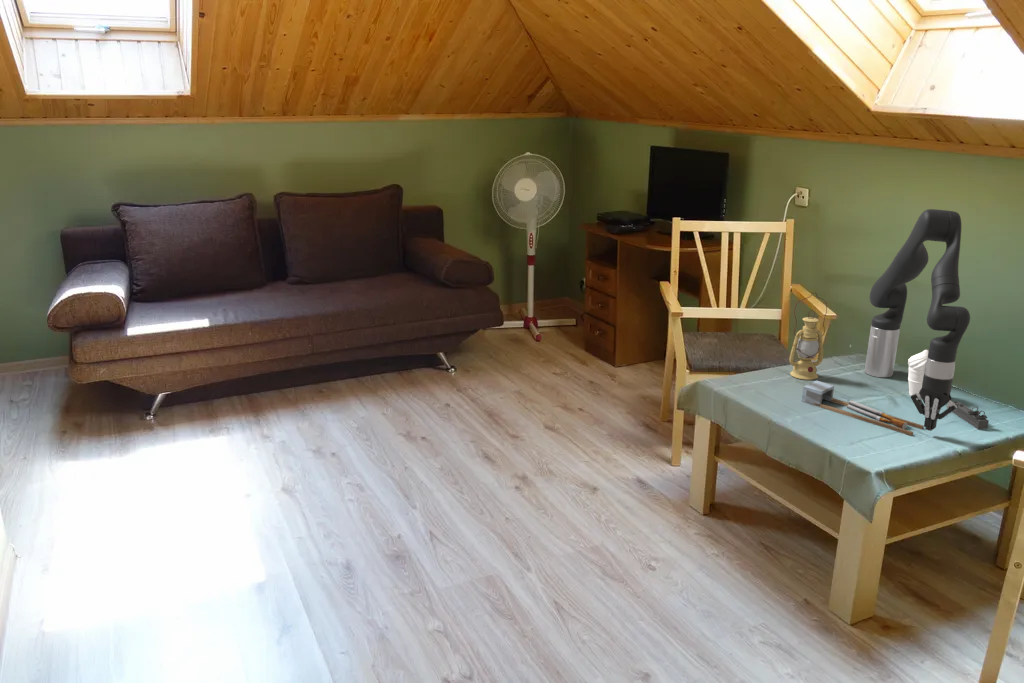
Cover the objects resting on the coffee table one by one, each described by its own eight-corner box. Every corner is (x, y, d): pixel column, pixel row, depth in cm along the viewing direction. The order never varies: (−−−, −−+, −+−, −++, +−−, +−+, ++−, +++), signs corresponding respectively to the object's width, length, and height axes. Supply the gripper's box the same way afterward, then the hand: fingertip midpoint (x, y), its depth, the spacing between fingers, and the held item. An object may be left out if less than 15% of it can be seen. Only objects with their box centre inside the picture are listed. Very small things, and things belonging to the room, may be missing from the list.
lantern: (792, 381, 281) (802, 297, 272) (782, 371, 291) (791, 289, 281) (826, 380, 282) (837, 296, 272) (815, 370, 291) (825, 289, 282)
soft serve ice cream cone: (905, 398, 266) (912, 352, 261) (900, 389, 274) (907, 344, 269) (933, 401, 264) (941, 354, 259) (927, 391, 272) (934, 346, 267)
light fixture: (958, 410, 258) (961, 394, 256) (987, 430, 244) (990, 413, 242) (948, 410, 257) (951, 394, 256) (976, 430, 243) (980, 413, 242)
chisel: (908, 422, 244) (903, 420, 243) (904, 431, 244) (899, 429, 243) (855, 401, 260) (849, 399, 258) (851, 410, 260) (846, 408, 258)
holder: (814, 395, 269) (816, 380, 267) (923, 428, 244) (926, 412, 242) (801, 401, 264) (803, 386, 262) (911, 435, 239) (914, 419, 237)
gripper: (968, 376, 231) (958, 433, 236) (920, 365, 240) (912, 419, 246) (957, 383, 226) (947, 440, 231) (909, 370, 235) (900, 426, 241)
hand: (929, 429), depth 238 cm, fingers closed
